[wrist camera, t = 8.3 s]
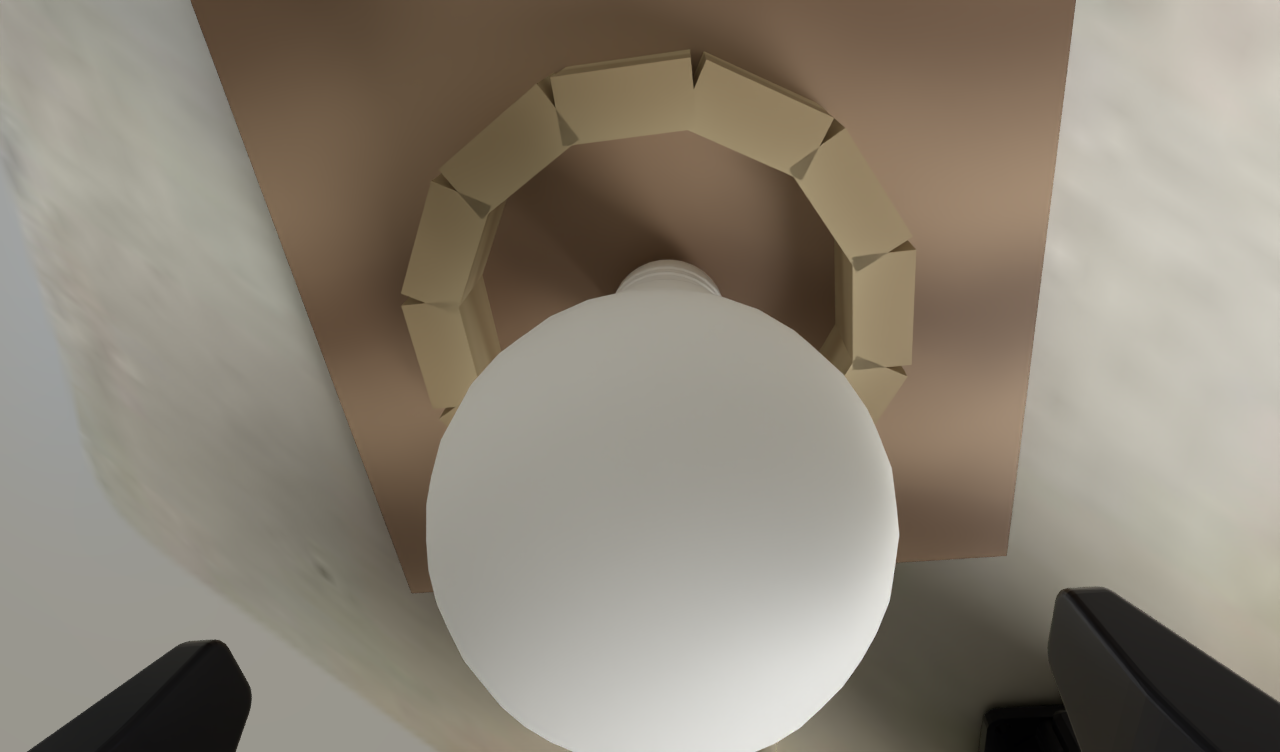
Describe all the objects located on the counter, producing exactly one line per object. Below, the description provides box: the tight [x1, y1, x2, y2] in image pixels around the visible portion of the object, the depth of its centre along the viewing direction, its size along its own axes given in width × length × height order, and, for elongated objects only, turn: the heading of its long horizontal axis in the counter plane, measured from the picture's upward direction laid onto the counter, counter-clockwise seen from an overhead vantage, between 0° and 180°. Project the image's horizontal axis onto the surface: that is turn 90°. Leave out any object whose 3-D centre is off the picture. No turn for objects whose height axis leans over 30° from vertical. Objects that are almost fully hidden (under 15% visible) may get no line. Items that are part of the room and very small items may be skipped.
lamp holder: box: [191, 0, 1076, 593], centre depth 16 cm, size 17×17×3 cm
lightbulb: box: [426, 260, 899, 752], centre depth 12 cm, size 6×6×11 cm
